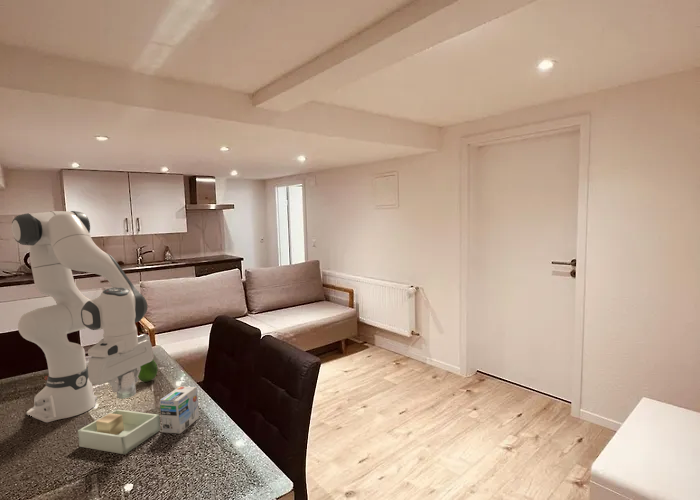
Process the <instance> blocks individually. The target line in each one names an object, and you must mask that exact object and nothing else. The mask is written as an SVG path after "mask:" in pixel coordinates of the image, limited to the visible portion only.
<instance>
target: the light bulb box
mask: <svg viewBox="0 0 700 500" xmlns="http://www.w3.org/2000/svg"><path fill="white" fill-rule="evenodd" d="M159 405H160V406H159V407H160V408H159V409H160V416H161V417H160V418H161V419H160V420H161V428H162V429H161V431H162V433H167V434H182V433H183V432H184V431H185V430H187V429H188V428H189V427H190V426H191V425H193V424H194V423H195V422H196V421H197V420H198V419H199V418H200V413H199V400H198V389H197V386H184V385H183V386H182V385H181V386H178V387H177V388H174V390H173V391H170V392H169V393H168V394H166V395H165V396H163V397H162V398H160V399H159Z"/></svg>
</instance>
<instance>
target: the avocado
mask: <svg viewBox="0 0 700 500" xmlns="http://www.w3.org/2000/svg"><path fill="white" fill-rule="evenodd" d="M140 367H141V370H140V373H139V375H138V380H140V381H141V382H144V383H147V382H151V381H153V380H154V379H155V378H156V376H157V374H158V372H159V371H158V364H157V363H156V361H155V360H154V359H153V360H152V361H151V362H149V363H146V364H144V365H142V366H140Z"/></svg>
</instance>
